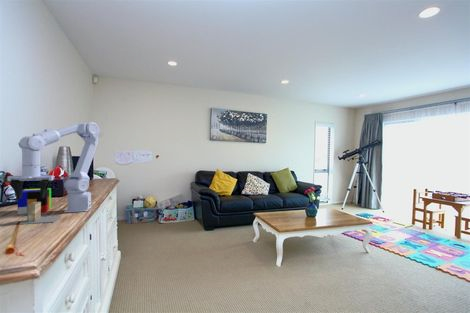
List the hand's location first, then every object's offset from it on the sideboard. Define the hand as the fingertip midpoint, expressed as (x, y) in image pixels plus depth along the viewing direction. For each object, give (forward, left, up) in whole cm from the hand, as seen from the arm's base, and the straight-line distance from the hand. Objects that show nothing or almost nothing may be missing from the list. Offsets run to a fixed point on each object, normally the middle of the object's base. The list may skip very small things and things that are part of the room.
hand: (31, 198), depth 94 cm
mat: (-4, 0, -10) cm, 10 cm away
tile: (-1, 0, -9) cm, 9 cm away
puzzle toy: (+6, -19, -10) cm, 22 cm away
